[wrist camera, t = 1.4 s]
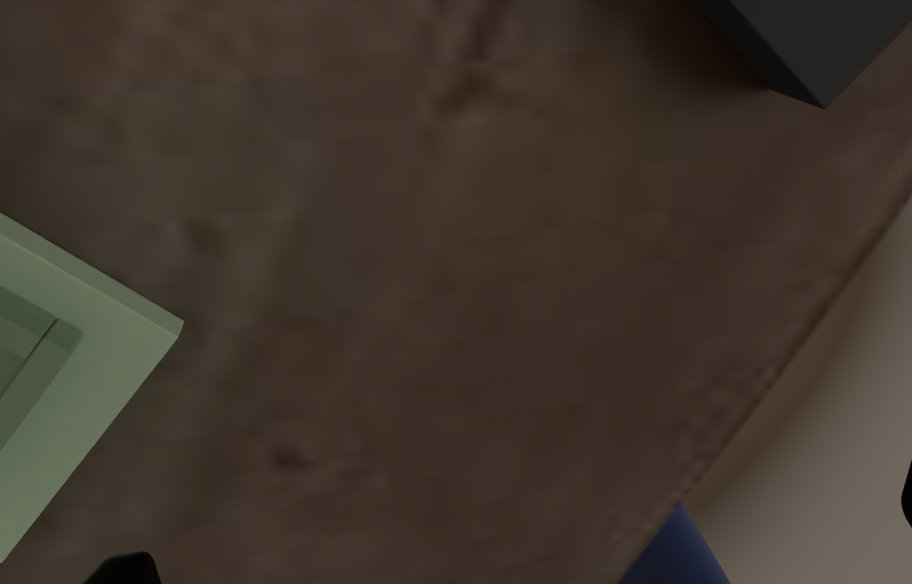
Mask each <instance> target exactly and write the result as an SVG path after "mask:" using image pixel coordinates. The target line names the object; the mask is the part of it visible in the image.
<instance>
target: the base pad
mask: <svg viewBox="0 0 912 584" xmlns="http://www.w3.org/2000/svg"><path fill="white" fill-rule="evenodd" d="M183 324H184V321H183V320H182V319H180V318H178V317H176V316H175V315H173V314H171V313H170V312H168V311H166V310H165V309H163V308H161V307H160V306H158V305H156V304H154V303H153V302H151V301H149V300H148V299H146V298H144V297H143V296H141V295H139V294H138V293H136V292H134V291H132V290H131V289H129V288H127V287H126V286H124V285H122V284H121V283H119V282H117V281H116V280H114V279H112V278H110V277H109V276H107V275H105V274H104V273H102V272H100V271H99V270H97V269H95V268H94V267H92V266H90V265H88V264H87V263H85V262H83V261H82V260H80V259H78V258H77V257H75V256H73V255H71V254H70V253H68V252H66V251H65V250H63V249H61V248H60V247H58V246H56V245H55V244H53V243H51V242H49V241H48V240H46V239H44V238H43V237H41V236H39V235H38V234H36V233H34V232H33V231H31V230H29V229H27V228H26V227H24V226H22V225H21V224H19V223H17V222H16V221H14V220H12V219H11V218H9V217H7V216H5V215H4V214H2V213H0V563H2V562H3V561H4V559H5V558H6V557H7V556H8V554H9V553H10V552H11V550H12V549H13V548H14V547H15V545H16V544H17V543H18V541H19V540H20V539H21V538H22V536H23V535H24V534H25V533H26V531H27V530H28V529H29V527H30V526H31V525H32V524H33V522H34V521H35V520H36V518H37V517H38V516H39V515H40V513H41V512H42V511H43V510H44V508H45V507H46V506H47V504H48V503H49V502H50V501H51V499H52V498H53V497H54V495H55V494H56V493H57V492H58V490H59V489H60V488H61V487H62V485H63V484H64V483H65V481H66V480H67V479H68V478H69V476H70V475H71V474H72V472H73V471H74V470H75V469H76V467H77V466H78V465H79V464H80V462H81V461H82V460H83V458H84V457H85V456H86V455H87V453H88V452H89V451H90V449H91V448H92V447H93V446H94V444H95V443H96V442H97V441H98V439H99V438H100V437H101V435H102V434H103V433H104V432H105V430H106V429H107V428H108V426H109V425H110V424H111V423H112V421H113V420H114V419H115V418H116V416H117V415H118V414H119V412H120V411H121V410H122V409H123V407H124V406H125V405H126V403H127V402H128V401H129V400H130V398H131V397H132V396H133V395H134V393H135V392H136V391H137V389H138V388H139V387H140V386H141V384H142V383H143V382H144V380H145V379H146V378H147V377H148V375H149V374H150V373H151V372H152V370H153V369H154V368H155V366H156V365H157V364H158V363H159V361H160V360H161V359H162V357H163V356H164V355H165V354H166V352H167V351H168V350H169V349H170V347H171V346H172V345H173V343H174V342H175V341H176V340H177V338H178V336H179V333H180V331H181V329H182V326H183Z"/></svg>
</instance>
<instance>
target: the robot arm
mask: <svg viewBox="0 0 912 584" xmlns="http://www.w3.org/2000/svg"><path fill="white" fill-rule="evenodd" d="M901 504H902V509H903V512H904V515H905V517H906V519H907V521H908V522H909V524H910V526H911V527H912V461H911V464H910V468H909V471H908V475H907V478H906V482H905V485H904V489H903V492H902V498H901ZM82 584H161V581H160V578H159V575H158V572H157V569H156V566H155V562H154V560H153V558H152V556H151V555H150V554H149V553H147V552H135V553H128V554H120V555H114V556H111V557H109V558H108V559H106V560H105V561H104V562H103V563H102V564H101V565H100V566H99V567H98V568H97V569H96V570H95V571H94V572H93V573H92V574H91V575H90V576H89V577H88V578H87V579H86V580H85V581H84V582H83V583H82Z"/></svg>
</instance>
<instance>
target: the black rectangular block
mask: <svg viewBox="0 0 912 584" xmlns="http://www.w3.org/2000/svg"><path fill="white" fill-rule="evenodd" d="M691 1H692V2H693V3H694V4H695V6H696V7H697V8H698V9H699V10H700V11H701V12H702V13H703V14H704V16H705V17H706V18H707V19H708V20H709V21H710V22H711V23H712V24H713V25H714V27H715V28H716V29H717V30H718V31H719V32H720V33H721V34H722V35H723V36H724V38H725V39H726V40H727V41H728V42H729V43H730V44H731V45H732V46H733V47H734V49H735V50H736V51H737V52H738V53H739V54H740V55H741V56H742V57H743V58H744V60H745V61H746V62H747V63H748V64H749V65H750V66H751V67H752V68H753V70H754V71H755V72H756V73H757V74H758V75H759V76H760V77H761V78H762V79H763V81H764V82H765V83H766V84H767V85H768V86H769V87H770V88H771V89H772V90H773V91H776V92H778V93H781V94H784V95H787V96H789V97H792V98H795V99H797V100H800V101H803V102H806V103H808V104H811V105H814V106H817V107H819V108H822V109H825V108H827V107H828V106H829V105H830V104H831V103H832V102H833V101H834V100H835V99H836V98H837V97H838V96H839V95H840V94H841V93H842V92H843V90H844V89H845V88H846V87H847V86H848V85H849V84H850V83H851V82H852V81H853V80H854V79H855V78H856V77H857V76H858V75H859V74H860V73H861V72H862V71H863V70H864V69H865V68H866V67H867V66H868V65H869V64H870V63H871V62H872V61H873V60H874V59H875V58H876V57H877V56H878V55H879V54H880V53H881V52H882V51H883V50H884V49H885V48H886V47H887V46H888V45H889V44H890V43H891V42H892V41H893V40H894V39H895V38H896V37H897V36H898V35H899V34H900V33H901V32H902V31H903V30H904V29H905V28H906V27H907V26H908V25H909V24H910V23H911V22H912V0H691Z"/></svg>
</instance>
